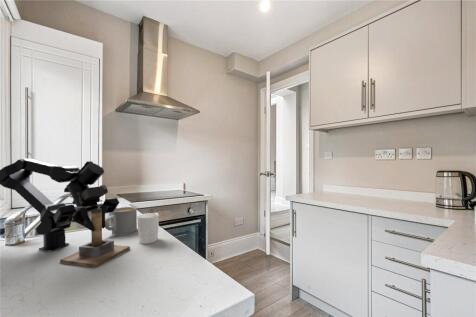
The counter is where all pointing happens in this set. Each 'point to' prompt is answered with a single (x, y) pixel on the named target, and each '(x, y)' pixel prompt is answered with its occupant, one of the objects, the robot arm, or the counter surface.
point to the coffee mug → (122, 221)
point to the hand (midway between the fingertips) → (99, 229)
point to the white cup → (148, 227)
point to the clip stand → (95, 254)
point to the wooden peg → (96, 227)
